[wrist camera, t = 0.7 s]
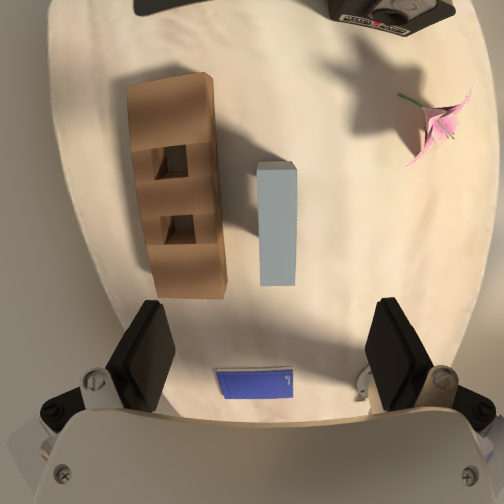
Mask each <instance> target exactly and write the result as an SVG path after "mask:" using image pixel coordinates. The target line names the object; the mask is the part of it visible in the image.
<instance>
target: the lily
mask: <svg viewBox="0 0 504 504" xmlns="http://www.w3.org/2000/svg"><path fill="white" fill-rule="evenodd" d="M475 87H476V83H475V85H474V86H473V87H472V89H471V90H470V92H469V93H468V95H467V96H466V98H465V99H464V101H463V102H462V103H461V104H459V105H456V106H451V107H442V108H431V109H427V108H425V107H423V106H422V105H421V104H419V103H418V102H416V101H414V100H413V99H411V98H409V97H406V96H404V95H402V94H399V93H398V96H401V97H403V98H405V99H407V100H409V101H411V102H413V103H415V104H416V105H418V106H419V107H421V108H422V109H423V110H424V112H425V145H424V148H423V150H422V151H421V152H420V153H419V154H418V155H417V156H416V158H415V159H414V160H413V161H412V162H410V163H409V164H408V165H407V166H406V167H405V169H407V168H409V167H410V166H412V165H413V164H415V163H416V162H417V161H419V160H420V159H421V157H422V156H423V155H424V154H425V153H426V152H427V151H428V150H429V149H430V148H431V146H432V145H433V144H434V142H435V141H437V142H444V141H446V140H448V139H449V138H450V137H452V139H454V137H453V136H452V135H453V134H454V132H455V131H456V130H457V128H458V125H459V120H458V118H457V117H456V116H457V115H458V114H459V113H460V112H461V111H462V110H463V108H464V107H465V106H466V104H467V103H468V102H469V100H470V99H471V97H472V95H473V93H474V90H475ZM405 169H404V170H405Z"/></svg>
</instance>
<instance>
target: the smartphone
mask: <svg viewBox="0 0 504 504" xmlns="http://www.w3.org/2000/svg"><path fill="white" fill-rule="evenodd" d="M208 1H213V0H134V9H135V13H136V14H137V15H138V16H141V17H146V16H150V15H154V14H157V13H161V12H164V11H168V10H171V9H175V8H179V7H184V6H188V5H192V4H197V3H202V2H208Z"/></svg>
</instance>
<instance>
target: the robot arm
mask: <svg viewBox="0 0 504 504" xmlns="http://www.w3.org/2000/svg"><path fill="white" fill-rule="evenodd" d="M365 352H366V356H367V359H368V362H369V366H367V367H366V368H365V369H364V370H363V371H362V373H361V374H360V375H359V377H358V379H357V383H356V384H357V389H358V392H359V393H360V395H362V396H364V397H366V398H369V402H370V405H371V408H370V410H369V412H368V415H365V416H358V417H351V418H342V419H333V420H322V421H307V422H282V423H253V422H229V421H214V420H202V419H193V418H184V417H177V416H169V415H162V414H156V413H152V411H153V412H154V411H155V410H156V408H157V405H158V401H159V399H160V396H161V393H162V390H163V387H164V384H165V381H166V378H167V375H168V372H169V370H170V367H171V364H172V361H173V358H174V355H175V345H174V342H173V338H172V335H171V332H170V328H169V325H168V321H167V318H166V314H165V310H164V307H163V305H162V304H160V303H159V301H157V300H145V301H144V303H143V305H142V306H141V308H140V310H139V311H138V313H137V315H136V316H135V318H134V320H133V321H132V323H131V325H130V327H129V328H128V329H127V330H126V332H125V333H124V335H123V337H122V339H121V340H120V342H119V344H118V346H117V347H116V349H115V351H114V353H113V355H112V357H111V358H110V360H109V362H108V364H107V366H106V367H105V369H104V368H101V367H95V368H91V369H89V370H87V371H86V372H85V373H84V374H83V375H82V377H81V378H80V387H78V388H75V389H73V390H71V391H68V392H66V393H64V394H62V395H59V396H57V397H54V398H52V399H50V400H48V401H46V402H45V403H44V404H43V406H42V408H41V411H40V416H39V417H37V416H34V417H33V418H32V419H31V420H29V421H28V422H26V423H25V424H24V425H23V426H21V427H20V428H19V429H17V430H16V431H15V432H14V433H12V434H11V435H10V437H9V439H8V448H9V451H10V453H11V455H12V457H13V459H14V461H15V463H16V464H17V466H18V468H19V470H20V472H21V473H22V475H23V477H24V479H25V480H26V482H27V483H28V485H29V487H30V488H31V490H32V491H33V493H34V495H35V497H34V501H33V504H496V502H495V498H496V497H497V495H498V494H499V492H500V491H501V489H502V488H503V486H504V417H503V416H501V415H499V416H497V415H496V408H495V405H494V404H493V402H492V401H491V400H490V399H488V398H486V397H484V396H482V395H480V394H477V393H475V392H473V391H471V390H469V389H467V388H464V387H462V386H460V385H458V382H459V379H458V376H457V374H456V372H455V371H454V370H453V369H452V368H450V367H448V366H444V365H437V366H434V365H433V363H432V361H431V359H430V357H429V356H428V354H427V352H426V350H425V348H424V346H423V344H422V342H421V340H420V339H419V337H418V335H417V333H416V331H415V330H414V328H413V326H412V325H411V324H410V323H409V321H408V319H407V317H406V316H405V314H404V312H403V310H402V309H401V307H400V305H399V304H398V302H397V300H396V299H395V298H394V297H389V298H382V299H381V301H379V302H377V305H376V309H375V313H374V317H373V321H372V324H371V328H370V331H369V335H368V338H367V342H366V345H365Z"/></svg>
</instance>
